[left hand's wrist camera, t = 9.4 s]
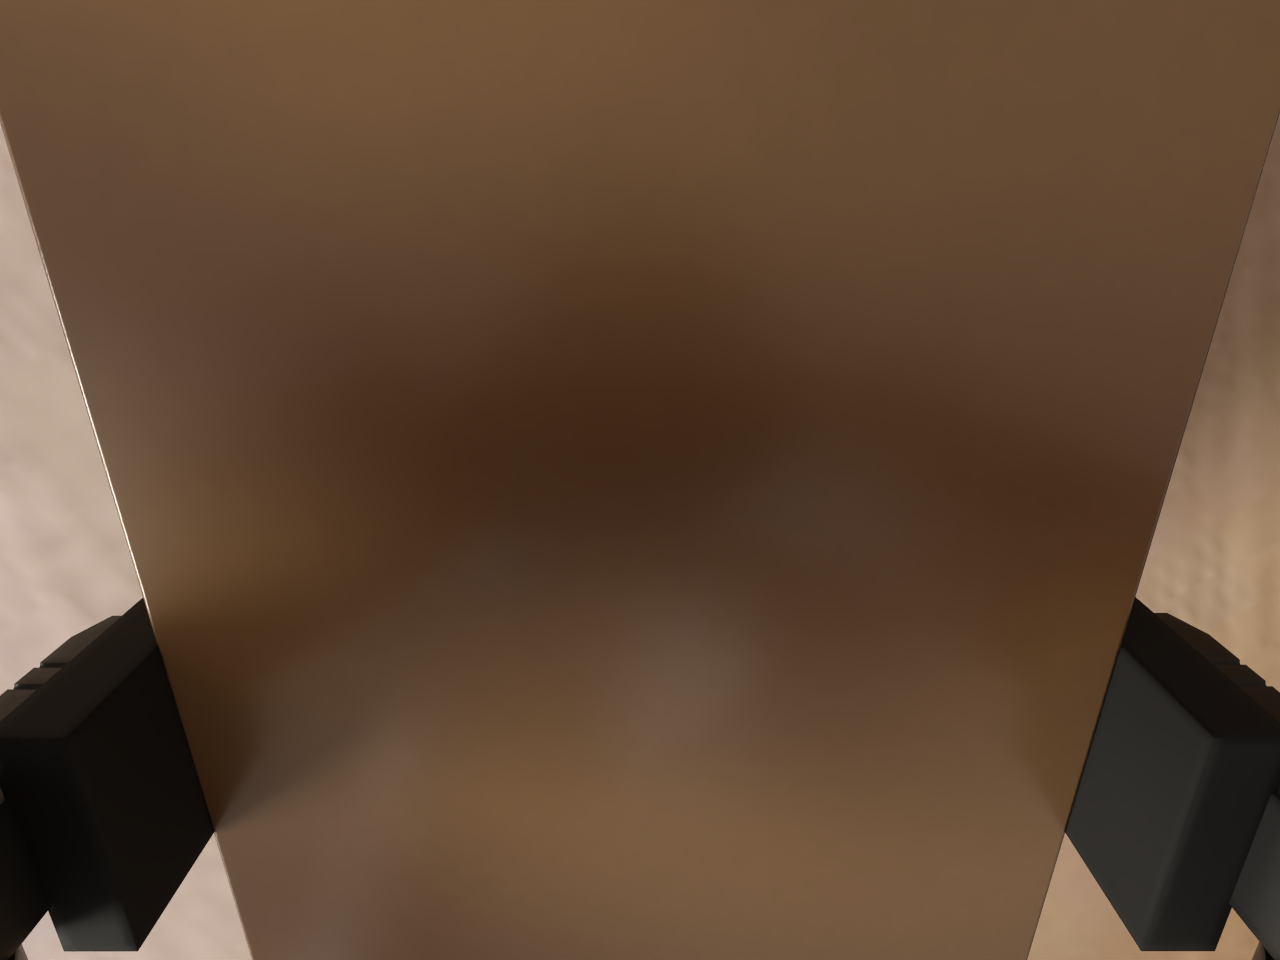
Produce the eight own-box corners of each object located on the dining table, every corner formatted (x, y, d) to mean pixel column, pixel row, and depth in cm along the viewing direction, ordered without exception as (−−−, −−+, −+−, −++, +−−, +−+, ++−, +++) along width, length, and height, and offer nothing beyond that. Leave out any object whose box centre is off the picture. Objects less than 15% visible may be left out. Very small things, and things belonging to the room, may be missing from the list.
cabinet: (349, -290, 14) (-513, -1557, 3) (928, -290, 14) (1785, -1557, 3) (450, 591, 21) (269, 1024, 11) (829, 590, 21) (1010, 1023, 11)
